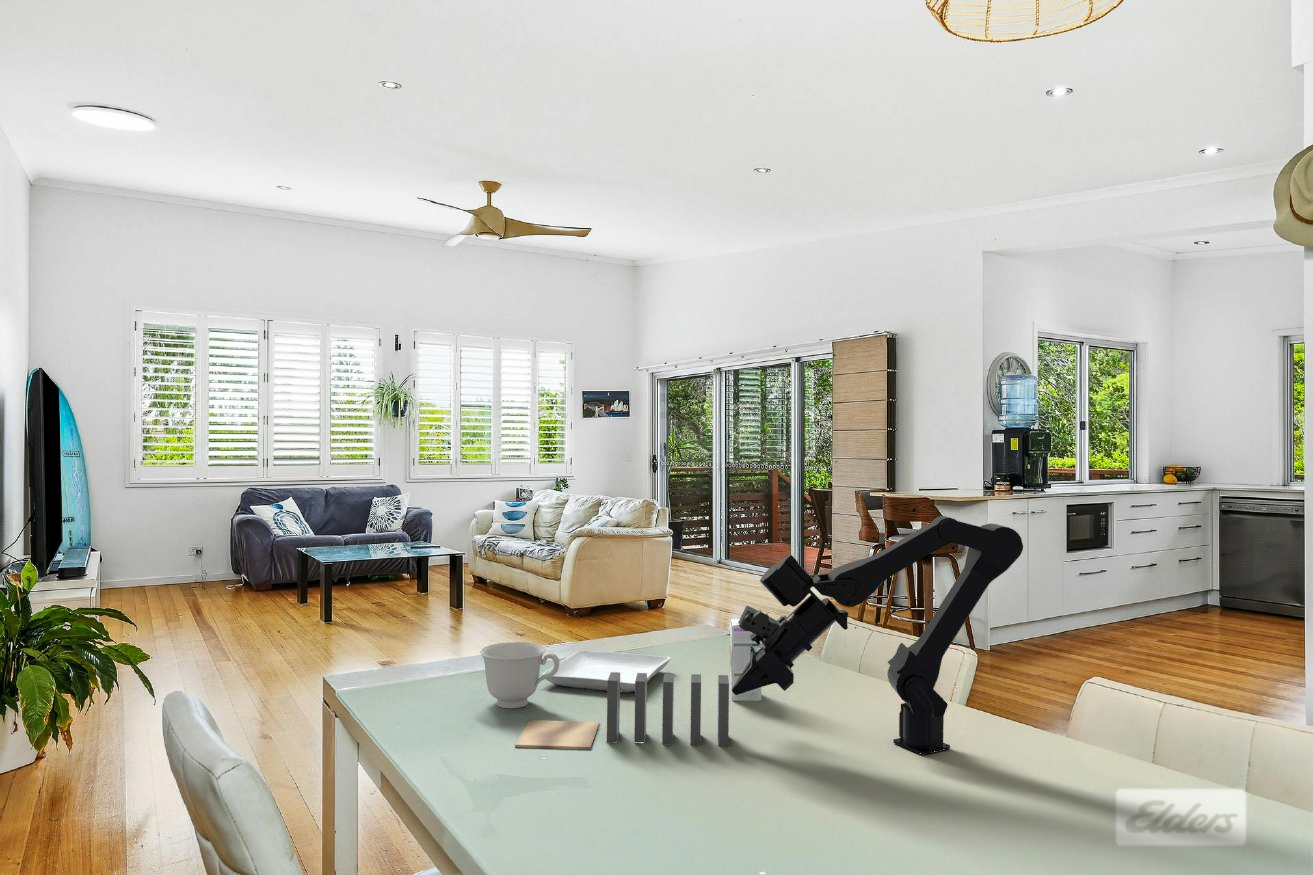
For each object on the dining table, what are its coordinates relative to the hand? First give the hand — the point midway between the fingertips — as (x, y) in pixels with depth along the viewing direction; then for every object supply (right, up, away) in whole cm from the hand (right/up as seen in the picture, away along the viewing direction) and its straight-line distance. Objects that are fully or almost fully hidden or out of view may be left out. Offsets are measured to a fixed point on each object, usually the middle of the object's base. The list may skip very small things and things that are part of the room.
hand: (733, 692), depth 138 cm
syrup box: (+4, -8, +24) cm, 26 cm away
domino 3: (-11, -8, 0) cm, 13 cm away
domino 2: (-15, -8, +1) cm, 17 cm away
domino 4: (-6, -8, 0) cm, 10 cm away
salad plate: (-23, -9, +35) cm, 43 cm away
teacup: (-38, -8, +18) cm, 42 cm away
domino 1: (-20, -8, +1) cm, 21 cm away
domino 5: (-2, -8, 0) cm, 8 cm away
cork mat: (-29, -8, +1) cm, 30 cm away
